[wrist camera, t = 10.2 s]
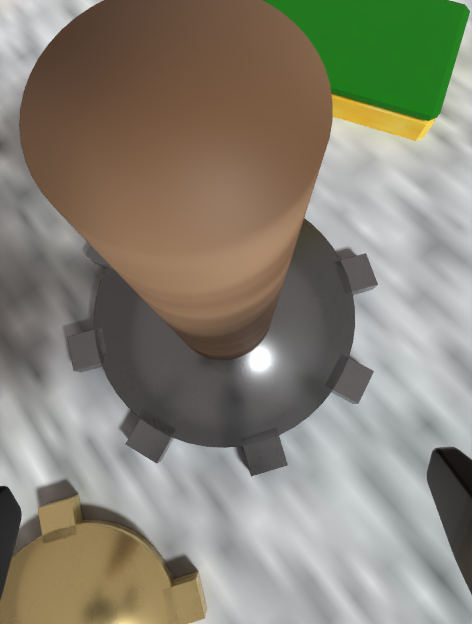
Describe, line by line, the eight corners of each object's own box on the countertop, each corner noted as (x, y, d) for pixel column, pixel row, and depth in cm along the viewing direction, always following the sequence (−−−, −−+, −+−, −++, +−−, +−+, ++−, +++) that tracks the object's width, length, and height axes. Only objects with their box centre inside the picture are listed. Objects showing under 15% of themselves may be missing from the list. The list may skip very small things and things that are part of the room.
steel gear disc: (422, 421, 18) (430, 422, 17) (108, 515, 17) (102, 521, 17) (319, 149, 21) (322, 139, 20) (51, 220, 20) (43, 213, 20)
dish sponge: (418, 148, 22) (439, 116, 19) (180, 77, 23) (173, 39, 21) (449, 45, 23) (473, 3, 21) (224, -17, 24) (222, -62, 22)
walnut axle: (250, 375, 18) (265, 301, 5) (158, 338, 18) (-39, 184, 6) (286, 284, 19) (374, 30, 6) (197, 251, 19) (104, -50, 6)
